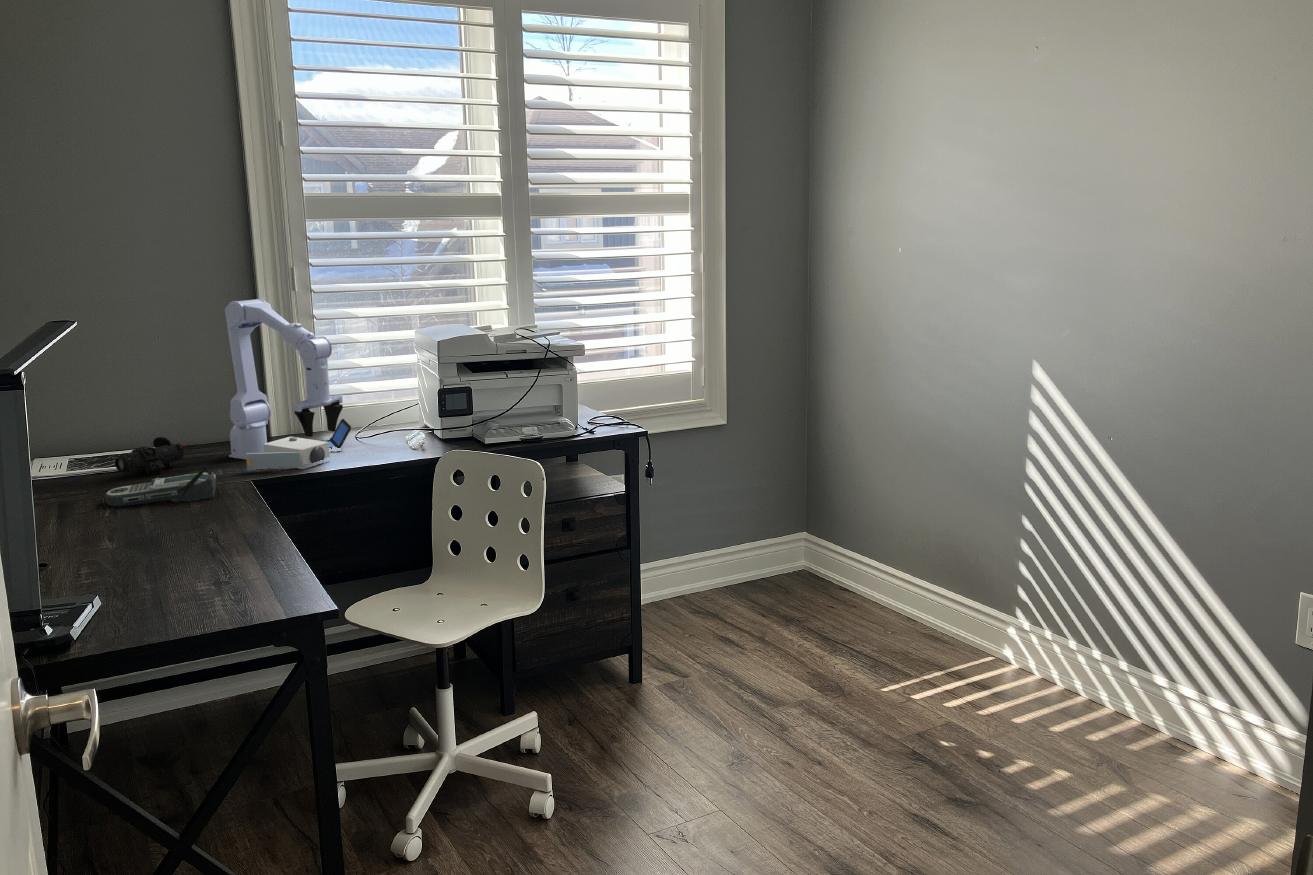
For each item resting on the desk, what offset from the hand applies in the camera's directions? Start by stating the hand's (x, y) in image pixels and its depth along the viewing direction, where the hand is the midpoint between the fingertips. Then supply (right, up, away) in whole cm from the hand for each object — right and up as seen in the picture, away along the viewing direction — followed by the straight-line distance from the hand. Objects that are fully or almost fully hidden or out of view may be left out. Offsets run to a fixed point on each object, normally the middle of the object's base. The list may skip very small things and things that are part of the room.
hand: (320, 433), depth 263 cm
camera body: (-9, -8, +8) cm, 15 cm away
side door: (-12, -10, -1) cm, 15 cm away
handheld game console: (-6, -4, +25) cm, 26 cm away
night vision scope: (-43, -10, -3) cm, 45 cm away
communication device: (-29, -16, -25) cm, 42 cm away
